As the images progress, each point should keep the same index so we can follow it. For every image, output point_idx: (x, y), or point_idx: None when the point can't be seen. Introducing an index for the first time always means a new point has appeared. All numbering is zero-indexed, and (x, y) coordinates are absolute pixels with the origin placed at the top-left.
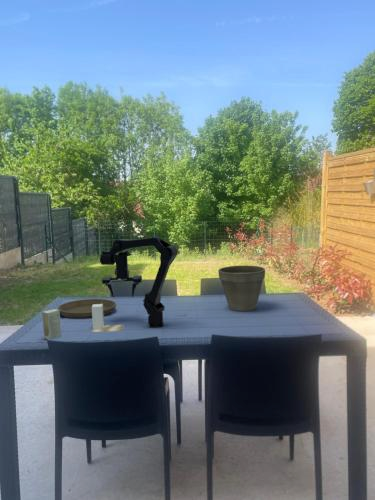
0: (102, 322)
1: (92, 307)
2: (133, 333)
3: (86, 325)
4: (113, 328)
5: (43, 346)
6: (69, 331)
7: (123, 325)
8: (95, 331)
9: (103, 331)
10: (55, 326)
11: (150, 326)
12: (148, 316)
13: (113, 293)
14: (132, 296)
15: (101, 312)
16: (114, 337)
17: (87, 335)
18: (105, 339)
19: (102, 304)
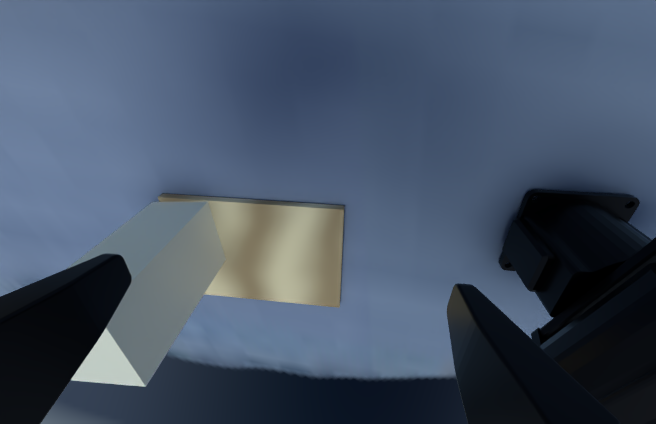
0: (209, 284)
1: (80, 376)
2: (396, 327)
3: (84, 148)
4: (284, 266)
5: None
6: (67, 244)
7: (334, 223)
8: (206, 292)
9: (245, 297)
10: None
11: (507, 269)
12: (531, 290)
13: (77, 346)
14: (455, 318)
15: (171, 339)
16: (314, 351)
17: None
18: (283, 361)
19: (111, 335)
